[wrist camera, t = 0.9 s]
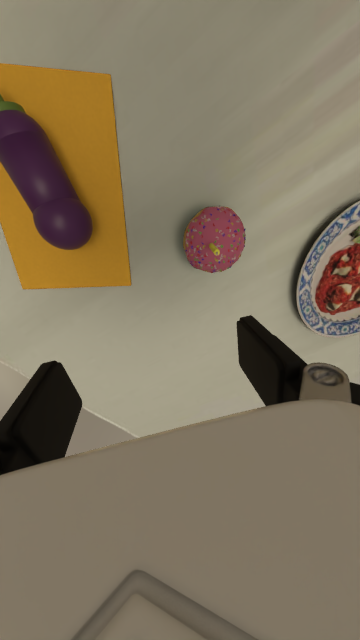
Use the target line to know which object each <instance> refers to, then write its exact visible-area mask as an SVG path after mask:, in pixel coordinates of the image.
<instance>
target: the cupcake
mask: <svg viewBox="0 0 360 640" xmlns="http://www.w3.org/2000/svg"><path fill="white" fill-rule="evenodd" d="M245 240H246V239H245V230H244V227H243V224H242V221H241V220H240V218H239V217H238V216H237V215H236V213H235V212H234V211H233V210H232V209H230V208H228V207H221V206H218V207H206V208H204V209H202V210H201V211H200V212H199V213H198V214H196V215H195V216H194V218H193V219H192V220H191V221H190V222H189V224H188V226H187V228H186V230H185V233H184V240H183V247H184V251H185V253H186V256H187V259H188V261H189V263H190V264H191V265H192V266H193V267H194V268H196V269H200V270H203V271H207V272H211V273H213V272H219V271H220V272H222V271H224V270H226V269H228V268H230V267H231V266H232V265H233V264H234V263H235V262H236V261H237V260H238V259H239V257H240V256H241V253H242V251H243V248H244V247H245V245H244V244H245Z"/></svg>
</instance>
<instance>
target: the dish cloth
mask: <svg viewBox="0 0 360 640" xmlns="http://www.w3.org/2000/svg"><path fill="white" fill-rule="evenodd" d="M0 94H1V96H2V98H3V99H4V101H10V102H15V103H17V104H19V105H21V106H22V107H23V108H24V110H25V112H26V114H27V115H29V116H30V117H32V118H33V119H34V120H35V121H36V122H37V123H38V124H39V125H40V126H41V127H42V129H43V130H44V131H45V133H46V135H47V136H48V138H49V140H50V142H51V144H52V146H53V148H54V150H55V152H56V154H57V156H58V158H59V160H60V162H61V164H62V166H63V168H64V170H65V172H66V174H67V176H68V178H69V180H70V182H71V183H72V185H73V187H74V189H75V191H76V193H77V195H78V197H79V199H80V201H81V203H82V204H83V205H84V206H85V207H86V208H87V210H88V212H89V213H90V216H91V219H92V223H93V231H92V235H91V238H90V239H89V241H88V242H87V243H86V244H85V245H84V246H82V247H80V248H78V249H74V250H64V249H60V248H57V247H55V246H53V245H51V244H49V243H48V242H47V241H46V240H44V239H43V238H42V236H41V235H40V234H39V232H38V231H37V229H36V227H35V224H34V220H33V214H32V212H31V210H30V209H29V207H28V205H27V204H26V202H25V201H24V199H23V197H22V196H21V194H20V193H19V191H18V189H17V188H16V186H15V185H14V183H13V181H12V180H11V178H10V176H9V175H8V173H7V172H6V170H5V168H4V167H3V165H2V164H1V162H0V223H1V226H2V229H3V232H4V235H5V238H6V241H7V244H8V246H9V249H10V252H11V255H12V258H13V261H14V264H15V267H16V270H17V273H18V276H19V279H20V282H21V285H22V288H23V289H46V288H75V287H103V286H131V276H130V266H129V256H128V246H127V236H126V225H125V215H124V205H123V195H122V185H121V175H120V165H119V155H118V144H117V134H116V124H115V114H114V104H113V94H112V84H111V75H110V74H102V73H92V72H82V71H72V70H62V69H52V68H42V67H31V66H21V65H11V64H1V63H0Z"/></svg>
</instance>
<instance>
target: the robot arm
mask: <svg viewBox="0 0 360 640" xmlns="http://www.w3.org/2000/svg"><path fill="white" fill-rule="evenodd" d="M237 337H238V354H239V364H240V366H241V368H242V370H243V371H244V373H245V374H246V376H247V378H248V379H249V381H250V382H251V384H252V385H253V387H254V388H255V390H256V391H257V393H258V395H259V396H260V398H261V399H262V401H263V402H264V404H265V405H266V406H265V407H261V408H257V409H252V410H248V411H244V412H240V413H235V414H231V415H227V416H223V417H219V418H215V419H211V420H207V421H203V422H199V423H195V424H191V425H187V426H183V427H179V428H176V429H172V430H168V431H164V432H160V433H156V434H152V435H148V436H144V437H140V438H136V439H133V440H129V441H125V442H121V443H117V444H113V445H109V446H106V447H102V448H98V449H94V450H91V451H87V452H83V453H79V454H76V455H71V456H68V457H65V454H66V451H67V448H68V445H69V442H70V439H71V436H72V433H73V431H74V427H75V425H76V422H77V419H78V416H79V413H80V410H81V407H82V400H81V398H80V396H79V394H78V392H77V391H76V389H75V387H74V385H73V383H72V382H71V380H70V378H69V376H68V374H67V373H66V371H65V369H64V367H63V365H62V364H61V363H58V362H57V361H51V362H47V363H43V364H41V366H40V367H39V368H38V370H37V371H36V373H35V374H34V375H33V377H32V378H31V379H30V381H29V382H28V384H27V385H26V386H25V388H24V389H23V391H22V392H21V393H20V395H19V396H18V398H17V399H16V400H15V402H14V403H13V404H12V406H11V407H10V409H9V410H8V411H7V413H6V414H5V415H4V417H3V418H2V420H1V421H0V640H360V385H359V384H355V383H351V382H349V378H348V376H347V374H346V373H345V372H344V371H342V370H341V369H339V368H338V367H335V366H333V365H330V364H326V363H311V364H307V363H305V362H304V361H303V360H302V359H301V358H300V357H299V356H298V355H296V354H295V353H294V352H293V351H292V350H291V349H290V348H289V347H287V346H286V345H285V344H284V343H283V342H282V341H281V340H280V339H278V338H277V337H276V336H275V335H273V334H271V333H270V332H269V331H268V330H267V329H266V328H265V327H264V326H263V325H261V324H260V323H259V322H258V321H257V320H256V319H255V318H254V317H253V316H251V315H250V316H246V317H242V318H240V321H237Z"/></svg>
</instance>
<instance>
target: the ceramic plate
mask: <svg viewBox="0 0 360 640" xmlns="http://www.w3.org/2000/svg"><path fill="white" fill-rule="evenodd" d="M296 301H297V308H298V311H299V314H300V316H301V318H302V320H303V322H304V323H305V324H306V325H307V326H308V327H309V328H310V329H311V330H312V331H314V332H315V333H317V334H320V335H323V336H326V337H346V336H351V335H355V334H358V333H360V201H358V202H356V203H355V204H353V205H352V206H350V207H349V208H347V209H346V210H345V211H343V212H342V213H341V214H340V215H339V216H338V217H336V218H335V219H334V220H333V221H332V222H331V223H330V224H329V225H328V226H327V227H326V228H325V230H324V231H323V232H322V233H321V234H320V236H319V237H318V238H317V240H316V241H315V243H314V244H313V246H312V248H311V249H310V251H309V253H308V254H307V257H306V259H305V261H304V263H303V265H302V268H301V271H300V274H299V278H298V283H297V290H296Z"/></svg>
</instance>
